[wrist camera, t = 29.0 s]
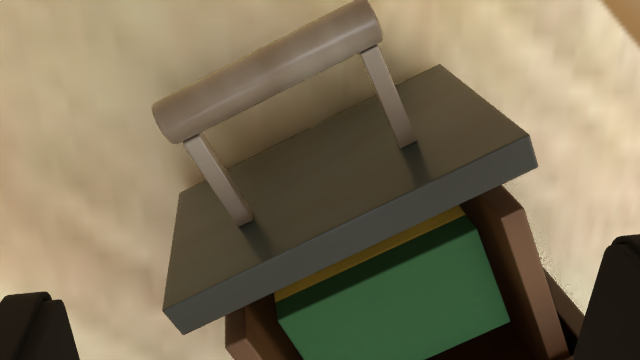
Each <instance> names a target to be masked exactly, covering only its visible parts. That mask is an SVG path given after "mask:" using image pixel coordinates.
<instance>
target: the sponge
mask: <svg viewBox="0 0 640 360" xmlns="http://www.w3.org/2000/svg"><path fill="white" fill-rule="evenodd" d="M274 297H275V305H276V313H277V321H278V323H279V324H280V325H281V327H282V328H283V330H284V331H285V333H286V334H287V336H288V337H289V339H290V340H291V342H292V343H293V344H294V346H295V347H296V349H297V350H298V352H299V353H300V355H301V356H302V358H303V359H304V360H425V359H427V358H430V357H432V356H434V355H436V354H439V353H441V352H443V351H445V350H448V349H450V348H452V347H454V346H456V345H459V344H461V343H463V342H465V341H468V340H470V339H472V338H474V337H477V336H479V335H481V334H483V333H486V332H488V331H490V330H492V329H495V328H497V327H499V326H501V325H504V324H506V323H508V322H510V318H509V315H508V313H507V310H506V307H505V304H504V302H503V299H502V296H501V293H500V291H499V288H498V285H497V282H496V280H495V277H494V274H493V271H492V269H491V266H490V263H489V260H488V258H487V255H486V252H485V249H484V247H483V244H482V241H481V238H480V236H479V233H478V230H477V228H476V227H475V226H474V224H473V223H472V222H471V220H470V219H469V218H468V216H467V215H466V214H465V212H464V211H463V210H462V208H461V207H460V206H459V205H457V206H455V207H453V208H451V209H449V210H447V211H445V212H442V213H440V214H438V215H436V216H434V217H432V218H430V219H428V220H426V221H423V222H421V223H419V224H417V225H415V226H413V227H411V228H409V229H407V230H404V231H402V232H400V233H398V234H396V235H394V236H392V237H390V238H388V239H385V240H383V241H381V242H379V243H377V244H375V245H373V246H371V247H369V248H366V249H364V250H362V251H360V252H358V253H356V254H354V255H352V256H350V257H347V258H345V259H343V260H341V261H339V262H337V263H335V264H333V265H331V266H328V267H326V268H324V269H322V270H320V271H318V272H316V273H314V274H312V275H309V276H307V277H305V278H303V279H301V280H299V281H297V282H295V283H293V284H290V285H288V286H286V287H284V288H282V289H280V290H278V291H276V292H274Z"/></svg>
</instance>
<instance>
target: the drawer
mask: <svg viewBox="0 0 640 360" xmlns="http://www.w3.org/2000/svg"><path fill="white" fill-rule="evenodd" d="M382 40H383V33H382V30H381V27H380V24H379V22H378V19H377V17H376V15H375V13H374V11H373V9H372V7H371V5H370V3H369V2H368V1H367V0H354V1H352V2H350V3H348V4H346V5H344V6H342V7H340V8H339V9H337V10H335V11H333V12H331V13H329V14H327V15H325V16H323V17H321V18H319V19H317V20H315V21H313V22H311V23H309V24H307V25H305V26H303V27H301V28H299V29H297V30H296V31H294V32H292V33H290V34H288V35H286V36H284V37H282V38H280V39H278V40H276V41H274V42H272V43H270V44H268V45H266V46H264V47H262V48H260V49H258V50H256V51H254V52H253V53H251V54H249V55H247V56H245V57H243V58H241V59H239V60H237V61H235V62H233V63H231V64H229V65H227V66H225V67H223V68H221V69H219V70H217V71H215V72H213V73H211V74H209V75H208V76H206V77H204V78H202V79H200V80H198V81H196V82H194V83H192V84H190V85H188V86H186V87H184V88H182V89H180V90H178V91H176V92H174V93H172V94H170V95H168V96H166V97H165V98H163V99H161V100H159V101H157V102H155V103H154V104H153V105H152V112H153V115H154V118H155V121H156V123H157V125H158V127H159V128H160V130H161V132H162V133H163V135H164V136H165V137H166V138H167V139H168V140H169V141H170V142H171V143H172V144H179V143H181V142H183V146H184V147H185V149H186V150H187V152H188V153H189V155H190V156H191V158H192V159H193V161H194V162H195V164H196V165H197V167H198V168H199V170H200V171H201V173H202V174H203V176H204V177H205V179H206V180H205V181H203V182H201V183H199V184H197V185H195V186H193V187H191V188H189V189H187V190H185V191H183V192H181V193H180V194H179V200H178V207H177V214H176V221H175V228H174V234H173V241H172V248H171V255H170V261H169V268H168V275H167V282H166V288H165V295H164V302H163V309H162V310H163V312H164V313H165V315H166V316H167V317H168V318H169V319H170V320H171V322H172V323H173V324H174V325H175V326H176V328H177V329H178V330H179V331H180V332H181V333H182V335H185V334H187V333H189V332H191V331H193V330H195V329H198V328H200V327H202V326H204V325H206V324H208V323H210V322H212V321H214V320H217V319H219V318H221V317H223V316H225V348H226V349H227V351H228V352H229V353H230V354H231V356H232V357H233V358H234V359H235V360H304V359H303V358H302V356H301V355H300V353H299V352H298V350H297V349H296V347H295V346H294V344H293V343H292V342H291V340H290V339H289V337H288V336H287V334H286V333H285V331H284V330H283V328H282V327H281V325H280V324H279V323H278V321H277V313H276V305H275V297H274V292H276V291H278V290H280V289H282V288H284V287H286V286H288V285H290V284H293V283H295V282H297V281H299V280H301V279H303V278H305V277H307V276H309V275H312V274H314V273H316V272H318V271H320V270H322V269H324V268H326V267H328V266H331V265H333V264H335V263H337V262H339V261H341V260H343V259H345V258H347V257H350V256H352V255H354V254H356V253H358V252H360V251H362V250H364V249H366V248H369V247H371V246H373V245H375V244H377V243H379V242H381V241H383V240H385V239H388V238H390V237H392V236H394V235H396V234H398V233H400V232H402V231H404V230H407V229H409V228H411V227H413V226H415V225H417V224H419V223H421V222H423V221H426V220H428V219H430V218H432V217H434V216H436V215H438V214H440V213H442V212H445V211H447V210H449V209H451V208H453V207H455V206H457V205H459V206H460V207H461V208H462V210H463V211H464V212H465V214H466V215H467V216H468V218H469V219H470V220H471V222H472V223H473V224H474V226H475V227H476V228H477V230H478V233H479V236H480V238H481V241H482V244H483V247H484V249H485V252H486V255H487V258H488V260H489V263H490V266H491V269H492V271H493V274H494V277H495V280H496V282H497V285H498V288H499V291H500V293H501V296H502V299H503V302H504V304H505V307H506V310H507V313H508V315H509V318H510V322H508V323H506V324H504V325H501V326H499V327H497V328H495V329H492V330H490V331H488V332H486V333H483V334H481V335H479V336H477V337H474V338H472V339H470V340H468V341H465V342H463V343H461V344H459V345H456V346H454V347H452V348H450V349H448V350H445V351H443V352H441V353H439V354H436V355H434V356H432V357H430V358H427V359H425V360H563V359H566V358H568V357H570V354H569V351H568V348H567V344H566V341H565V338H564V335H563V332H562V328H561V325H560V322H559V319H558V316H557V312H556V309H555V306H554V303H553V300H552V296H551V293H550V290H549V287H548V284H547V280H546V277H545V274H544V271H543V268H542V264H541V261H540V258H539V255H538V252H537V248H536V245H535V242H534V239H533V236H532V232H531V229H530V226H529V223H528V220H527V216H526V213H525V210H524V208H523V207H522V206H521V204H520V203H519V202H518V201H517V200H516V199H515V198H514V197H513V196H512V195H511V194H510V193H509V192H508V191H507V190H506V189H505V188H504V187H503V186H502V184H504V183H506V182H508V181H510V180H512V179H514V178H516V177H518V176H521V175H523V174H525V173H527V172H529V171H531V170H533V169H535V168H537V167H538V164H537V160H536V156H535V153H534V149H533V146H532V142H531V139H530V135H529V134H528V133H526V132H525V131H524V130H523V129H521V128H520V127H519V126H518V125H516V124H515V123H514V122H513V121H511V120H510V119H509V118H507V117H506V116H505V115H504V114H502V113H501V112H500V111H499V110H497V109H496V108H495V107H494V106H492V105H491V104H490V103H489V102H487V101H486V100H485V99H484V98H482V97H481V96H480V95H478V94H477V93H476V92H475V91H473V90H472V89H471V88H470V87H468V86H467V85H466V84H465V83H463V82H462V81H461V80H460V79H458V78H457V77H456V76H454V75H453V74H452V73H451V72H449V71H448V70H447V69H446V68H444V67H443V66H442V65H441V64H439V65H437V66H435V67H433V68H431V69H429V70H427V71H425V72H423V73H421V74H419V75H417V76H415V77H413V78H411V79H409V80H407V81H405V82H403V83H401V84H399V85H396V86H395V85H394V82H393V80H392V77H391V75H390V72H389V70H388V68H387V65H386V63H385V60H384V58H383V55H382V53H381V50H380V48H379V46H378V45H377V44H378V43H380V42H381V41H382ZM356 54H358V55H359V57H360V59H361V62H362V64H363V66H364V69H365V71H366V73H367V76H368V78H369V80H370V83H371V85H372V87H373V90H374V92H375V94H376V96H374V97H372V98H370V99H368V100H366V101H364V102H362V103H360V104H358V105H356V106H354V107H352V108H350V109H348V110H346V111H344V112H342V113H340V114H338V115H336V116H334V117H332V118H330V119H328V120H326V121H324V122H322V123H320V124H318V125H316V126H314V127H312V128H310V129H308V130H306V131H304V132H302V133H300V134H298V135H296V136H294V137H292V138H290V139H288V140H286V141H284V142H282V143H280V144H277V145H275V146H273V147H271V148H269V149H267V150H265V151H263V152H261V153H259V154H257V155H255V156H253V157H251V158H249V159H247V160H245V161H243V162H241V163H239V164H237V165H235V166H233V167H231V168H229V169H227V170H226V169H225V168H224V166H223V164H222V163H221V161H220V160H219V158H218V157H217V155H216V154H215V152H214V150H213V149H212V147H211V146H210V144H209V143H208V141H207V139H206V138H205V136H204V135H203V133H202V132H203V131H205V130H207V129H209V128H211V127H213V126H215V125H217V124H219V123H221V122H223V121H225V120H227V119H229V118H231V117H233V116H235V115H237V114H239V113H241V112H243V111H245V110H247V109H248V108H250V107H252V106H254V105H256V104H258V103H260V102H262V101H264V100H266V99H268V98H270V97H272V96H274V95H276V94H278V93H280V92H282V91H284V90H286V89H288V88H290V87H292V86H294V85H296V84H298V83H300V82H302V81H304V80H306V79H308V78H310V77H312V76H314V75H316V74H318V73H320V72H322V71H324V70H326V69H328V68H330V67H332V66H334V65H336V64H338V63H340V62H342V61H344V60H346V59H348V58H350V57H352V56H354V55H356Z"/></svg>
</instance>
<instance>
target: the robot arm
mask: <svg viewBox="0 0 640 360" xmlns="http://www.w3.org/2000/svg"><path fill="white" fill-rule="evenodd" d="M573 357H574V360H640V234H638V235H627V236H620V237H617V238H616V239H615V240H614V241H613V242H612V244H611V246H608V247H607V248H606V250H605V252H604V255H603V258H602V262H601V265H600V268H599V272H598V275H597V278H596V281H595V285H594V288H593V291H592V295H591V298H590V301H589V304H588V308H587V311H586V314H585V318H584V321H583V324H582V327H581V331H580V334H579V337H578V341H577V344H576V347H575V350H574V356H573ZM0 360H80V359H79V355H78V352H77V348H76V344H75V341H74V337H73V334H72V330H71V327H70V323H69V319H68V316H67V312H66V309H65V305H64V303H63V301H62V300H52V298H51V296H50V295H49V293H48V292H35V293H25V294H14V295H7V296H5V297H4V298H3V299H2V301H1V302H0Z"/></svg>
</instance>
